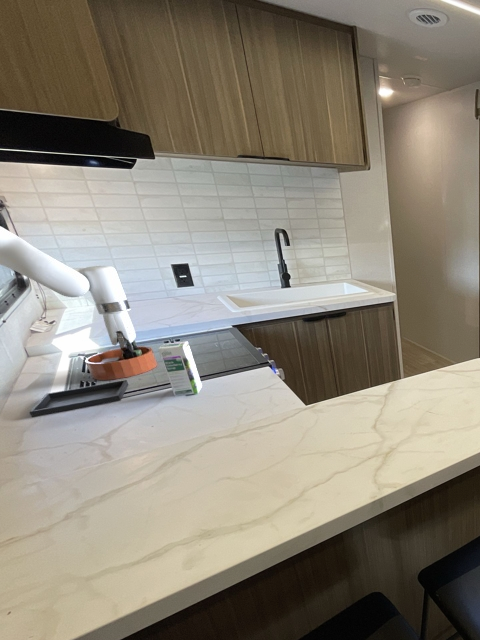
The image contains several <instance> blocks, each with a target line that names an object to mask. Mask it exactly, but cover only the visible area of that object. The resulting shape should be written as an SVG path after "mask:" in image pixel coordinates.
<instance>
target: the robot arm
mask: <svg viewBox="0 0 480 640" xmlns="http://www.w3.org/2000/svg"><path fill="white" fill-rule="evenodd" d="M0 265H1V266H3V267H5V268H8V269H10V270H13V271H15V272H17V273H18V274H21V275H22V276H24V277H26V278H28V279H30V280H32V281H34V282H36V283H38V284H40V285H42V286H44V287H46V288H48V289H49V290H51V291H53V292H55V293H57V294H59V295H61V296H62V297H63V296H64V297H66V298H79V297H82V296H85V295H86V294H87V293H88V292H89V294H91V297H92V300H93V303H94V306H95V307H96V310H97V314H99V315H102V317H103V321H104V325H105V329H106V331H107V334H108V337H109V339H110V342H111V345H112V346H117V345H118V346H119V349H121V351H122V354H123V357H124V359H125V360H126V359H130V358H134V357H138V356H137V354H136V351H135V352H134V350H139V349H138V347H139V346H138V345H137V342H136V337H137V334H136V333H137V332H136V330H135V327H134V325H133V322H132V320H131V317H130V314H129V311H131V310H132V309H131V306H130V303H129V301H128V298H127V295H126V292H125V290H124V288H123V285H122V283H121V279H120V277H119V274H118V272H117V269H116V268H115V267H114V266H111V265H94V266H92V265H91V266H87V267H70V266H68V265H67V264H65V263H62V262H61V261H59V260H57V259H55V258H54V257H52V256H50V255H48V253H45V252H43V251H42V250H40V249H38V248H36V247H35V246H33V245H32V244H30V242H28V241H26V240H25V239H23V238H21V237H20V236H19V235H17V234H15V233H13V232H11V231H10V230H8V229H6V228H4V227H3V226H1V225H0ZM135 347H136V348H135Z"/></svg>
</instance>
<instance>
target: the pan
mask: <svg viewBox="0 0 480 640" xmlns="http://www.w3.org/2000/svg"><path fill="white" fill-rule="evenodd" d="M128 387H129V382H128V380H127V379H124V380H118V381H113V382H105V383H99V384H94V385H88V386H83V387H77V388H71V389H66V390H65V389H64V390H61V391H54V392H47V393H45V394H44V396H42V397H41V398H40V399H39V401H38V402H37V403H36V404H35V406H33V407H32V409H30V410H29V414H30V416H31V418H36V417H42V416H47V415H52V414H53V415H54V414H58V413H63V412H67V411H73V410H79V409H84V408H88V407H94V406H100V405H105V404H110V403H114V402H120V401H122V399H123V397H124V395H125V393H126V391H127V390H128V389H127V388H128Z"/></svg>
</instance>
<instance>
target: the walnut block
mask: <svg viewBox="0 0 480 640" xmlns="http://www.w3.org/2000/svg"><path fill="white" fill-rule="evenodd" d="M115 361H121V358H120V357H115V358H108V359H103V360H102V361H101V363H107V362H115Z"/></svg>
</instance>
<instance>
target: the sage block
mask: <svg viewBox="0 0 480 640" xmlns="http://www.w3.org/2000/svg"><path fill="white" fill-rule="evenodd" d="M135 351H136V354H137V356H141V355H142V352H141V350H134V352H135ZM122 357H123V355H122ZM123 360H125V359H124V357H123Z"/></svg>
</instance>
